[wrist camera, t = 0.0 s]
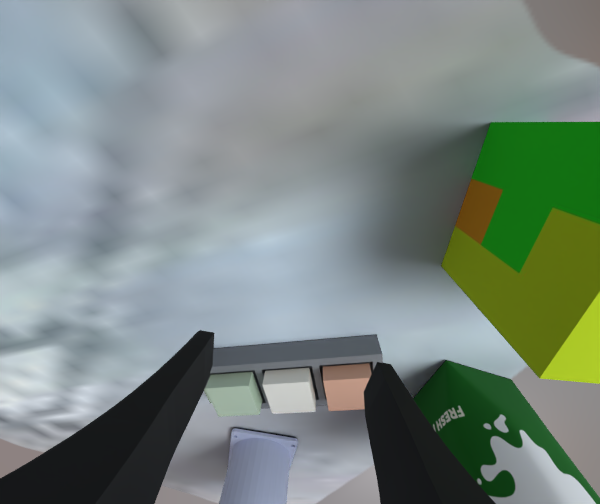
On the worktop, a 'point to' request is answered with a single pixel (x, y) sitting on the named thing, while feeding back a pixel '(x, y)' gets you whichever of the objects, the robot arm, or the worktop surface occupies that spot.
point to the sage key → (234, 394)
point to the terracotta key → (346, 386)
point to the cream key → (289, 391)
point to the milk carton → (500, 438)
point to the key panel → (297, 359)
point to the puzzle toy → (536, 244)
